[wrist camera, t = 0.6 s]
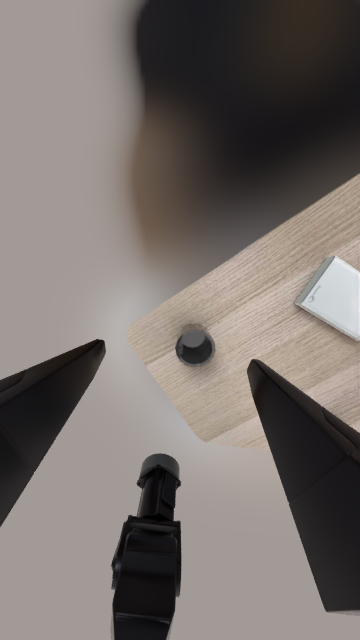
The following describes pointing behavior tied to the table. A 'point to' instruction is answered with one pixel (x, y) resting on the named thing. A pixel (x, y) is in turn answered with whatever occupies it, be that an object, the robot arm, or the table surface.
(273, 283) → the table surface
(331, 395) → the table surface
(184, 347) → the socket
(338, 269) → the hard drive
